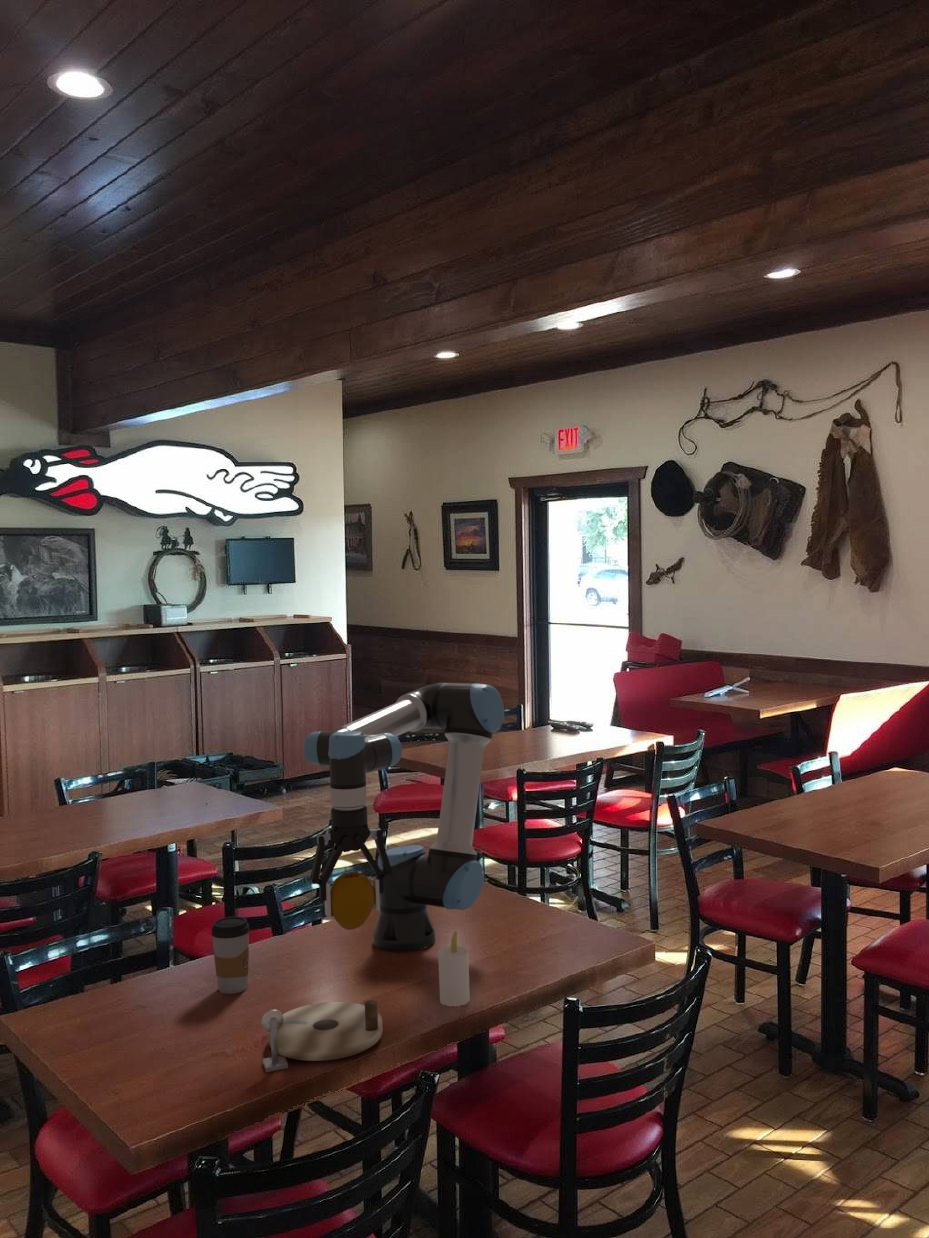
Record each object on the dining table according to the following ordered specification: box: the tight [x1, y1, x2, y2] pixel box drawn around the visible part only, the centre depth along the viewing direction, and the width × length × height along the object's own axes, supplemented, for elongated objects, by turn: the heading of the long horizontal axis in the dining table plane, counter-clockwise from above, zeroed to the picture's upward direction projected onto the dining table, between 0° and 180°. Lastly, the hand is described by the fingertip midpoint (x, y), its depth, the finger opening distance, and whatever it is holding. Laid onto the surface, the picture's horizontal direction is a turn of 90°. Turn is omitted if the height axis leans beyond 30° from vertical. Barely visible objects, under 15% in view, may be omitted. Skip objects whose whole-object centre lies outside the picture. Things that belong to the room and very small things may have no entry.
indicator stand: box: [261, 1008, 289, 1073], centre depth 196 cm, size 4×4×10 cm
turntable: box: [268, 999, 384, 1062], centre depth 206 cm, size 22×22×7 cm
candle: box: [437, 930, 471, 1008], centre depth 223 cm, size 6×6×15 cm
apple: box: [330, 871, 375, 931], centre depth 221 cm, size 10×10×12 cm
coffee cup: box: [211, 916, 250, 995], centre depth 234 cm, size 8×8×15 cm
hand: (352, 912), depth 222 cm, fingers closed on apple, 10 cm apart
